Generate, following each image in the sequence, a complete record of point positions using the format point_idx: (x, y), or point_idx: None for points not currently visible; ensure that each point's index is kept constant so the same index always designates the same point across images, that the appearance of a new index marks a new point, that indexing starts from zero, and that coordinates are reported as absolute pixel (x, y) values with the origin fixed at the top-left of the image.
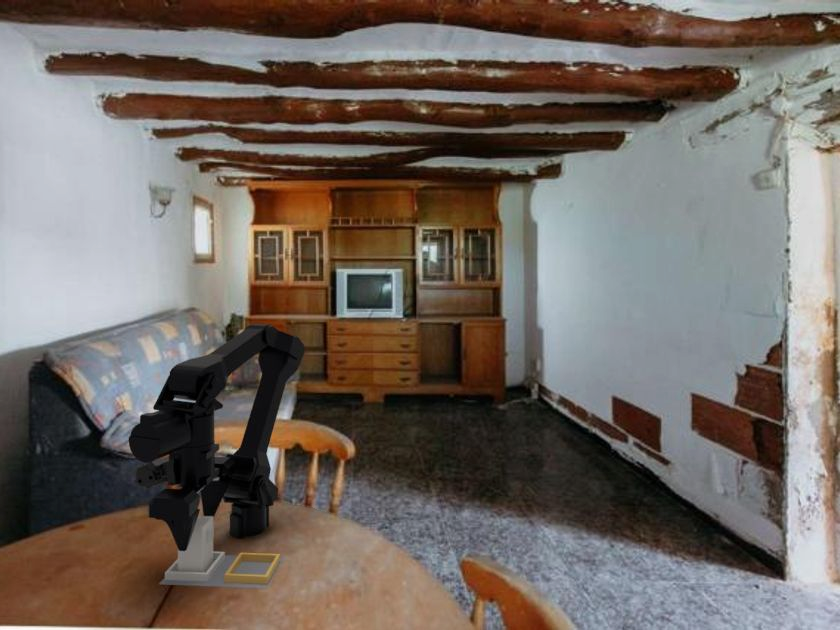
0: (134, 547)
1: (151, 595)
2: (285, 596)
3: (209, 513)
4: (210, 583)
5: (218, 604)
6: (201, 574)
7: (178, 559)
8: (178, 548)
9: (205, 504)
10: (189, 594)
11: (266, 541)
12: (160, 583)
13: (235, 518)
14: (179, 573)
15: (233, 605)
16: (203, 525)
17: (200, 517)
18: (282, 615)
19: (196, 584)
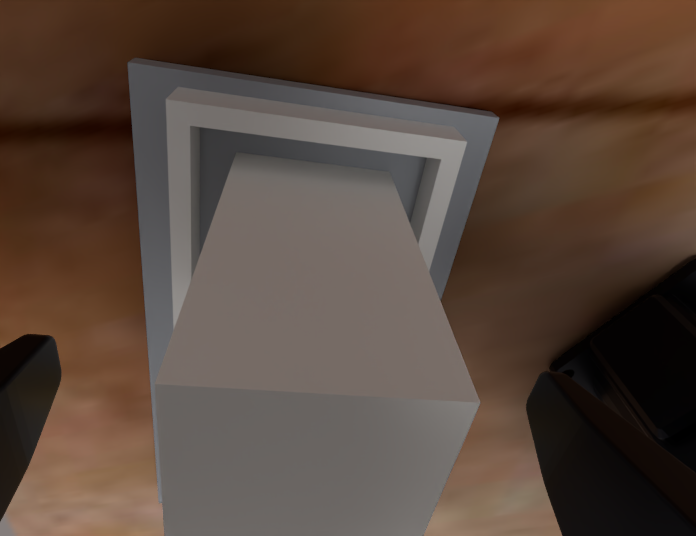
0: None
1: (65, 32)
2: (154, 523)
3: (566, 469)
4: (170, 329)
5: (64, 369)
6: (175, 312)
7: (222, 198)
8: (7, 348)
9: (647, 528)
10: (114, 241)
11: None
12: (136, 71)
13: (676, 410)
14: (171, 197)
15: (70, 414)
16: None
17: (404, 498)
18: (51, 532)
19: (151, 275)
